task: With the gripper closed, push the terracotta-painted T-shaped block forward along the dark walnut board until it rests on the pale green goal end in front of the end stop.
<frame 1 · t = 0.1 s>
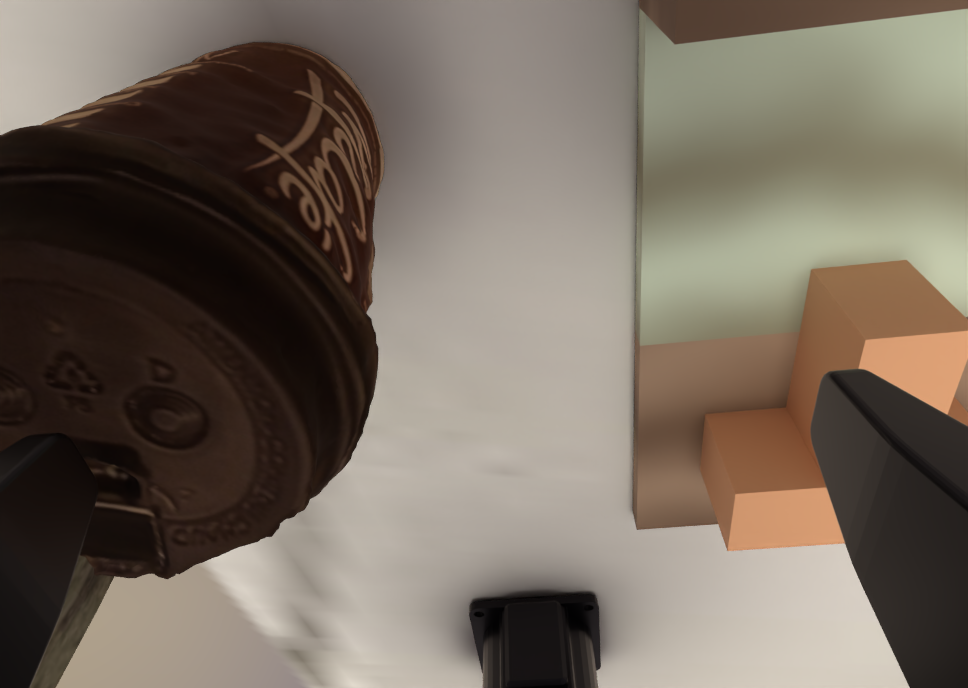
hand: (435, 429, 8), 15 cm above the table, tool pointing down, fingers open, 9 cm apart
board: (837, 288, 24), on the table
tabletop clock: (45, 380, 27), on the table
coffee cup: (281, 148, 21), on the table
tee block: (820, 433, 27), point 1 cm above the table, touching board
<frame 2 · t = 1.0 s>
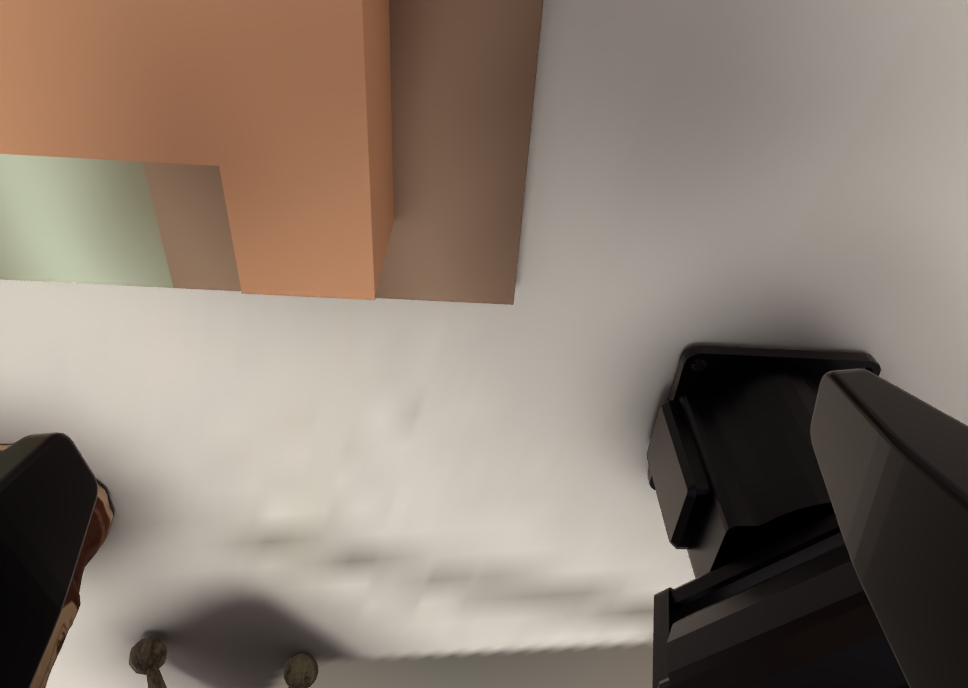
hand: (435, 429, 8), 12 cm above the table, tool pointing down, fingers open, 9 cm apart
board: (87, 19, 17), on the table
tabletop clock: (278, 664, 35), on the table
coffee cup: (39, 497, 27), on the table
tee block: (326, 44, 16), point 1 cm above the table, touching board
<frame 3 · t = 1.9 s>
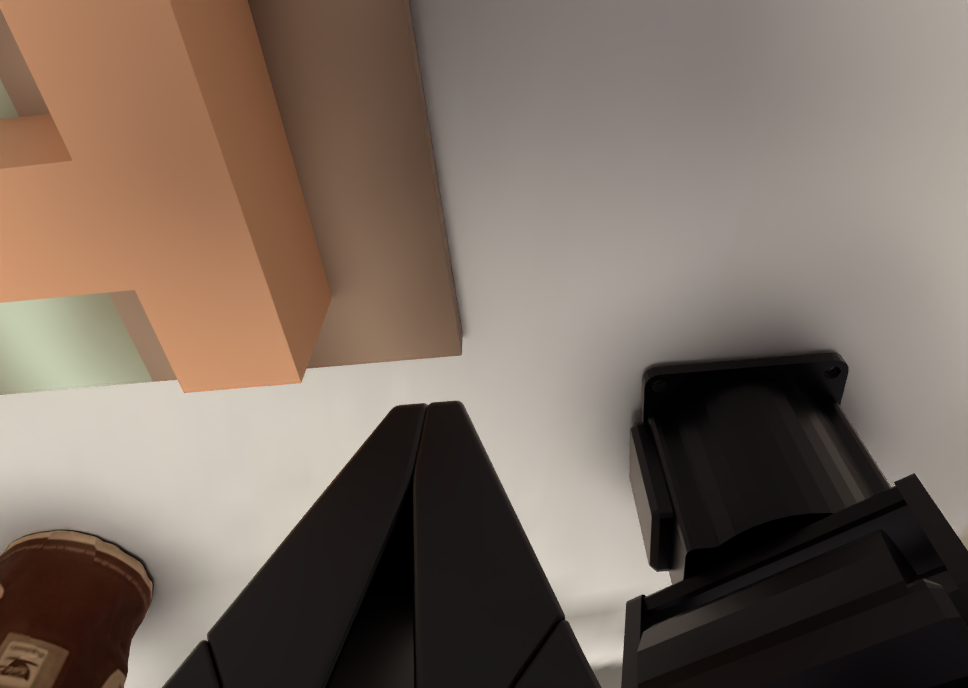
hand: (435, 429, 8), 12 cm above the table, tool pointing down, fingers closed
board: (33, 164, 19), on the table
coffee cup: (87, 574, 30), on the table
tee block: (232, 154, 18), point 1 cm above the table, touching board
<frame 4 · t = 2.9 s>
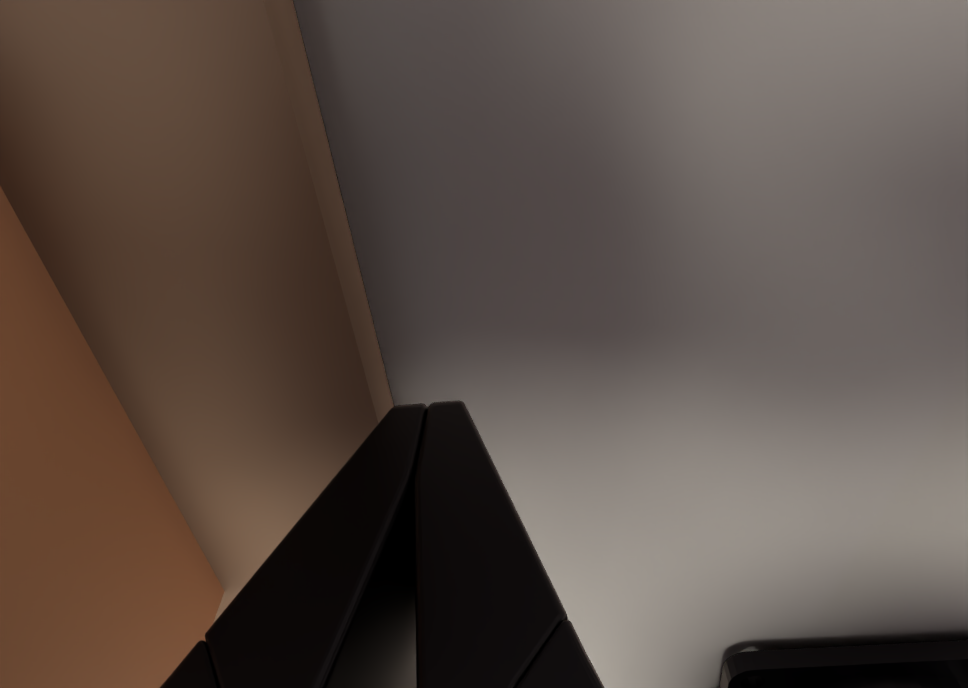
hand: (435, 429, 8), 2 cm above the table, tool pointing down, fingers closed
tee block: (13, 404, 10), point 1 cm above the table, touching board
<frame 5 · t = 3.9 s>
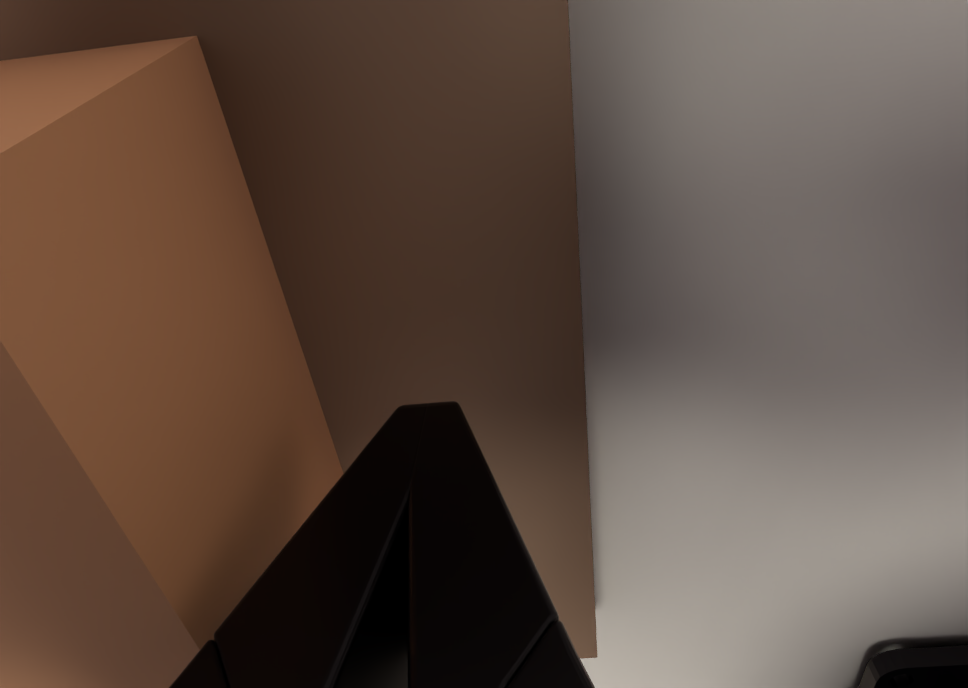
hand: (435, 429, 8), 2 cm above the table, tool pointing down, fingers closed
tee block: (209, 400, 9), point 1 cm above the table, touching gripper
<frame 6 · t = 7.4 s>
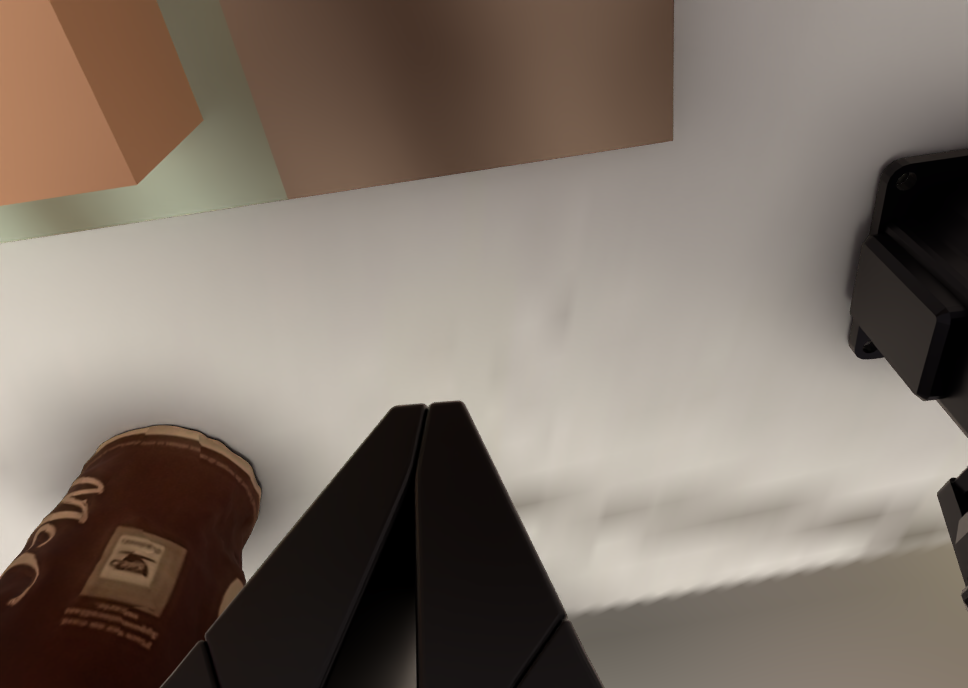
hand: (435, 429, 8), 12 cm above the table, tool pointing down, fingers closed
coffee cup: (185, 484, 26), on the table
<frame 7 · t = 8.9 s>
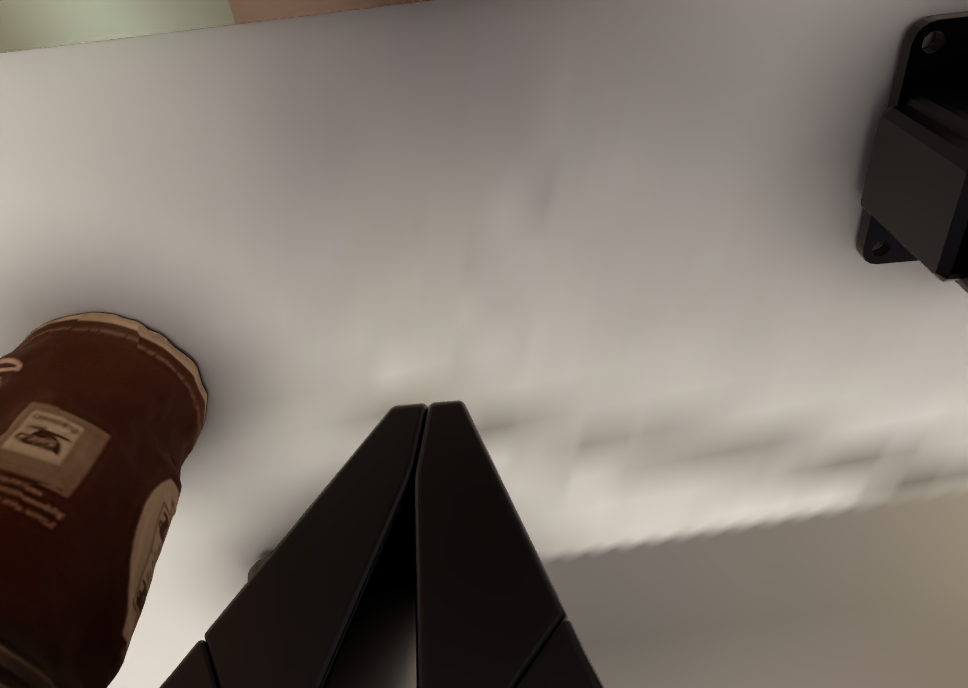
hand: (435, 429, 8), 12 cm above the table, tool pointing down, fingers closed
coffee cup: (124, 386, 24), on the table
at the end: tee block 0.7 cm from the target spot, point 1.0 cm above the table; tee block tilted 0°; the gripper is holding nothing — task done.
